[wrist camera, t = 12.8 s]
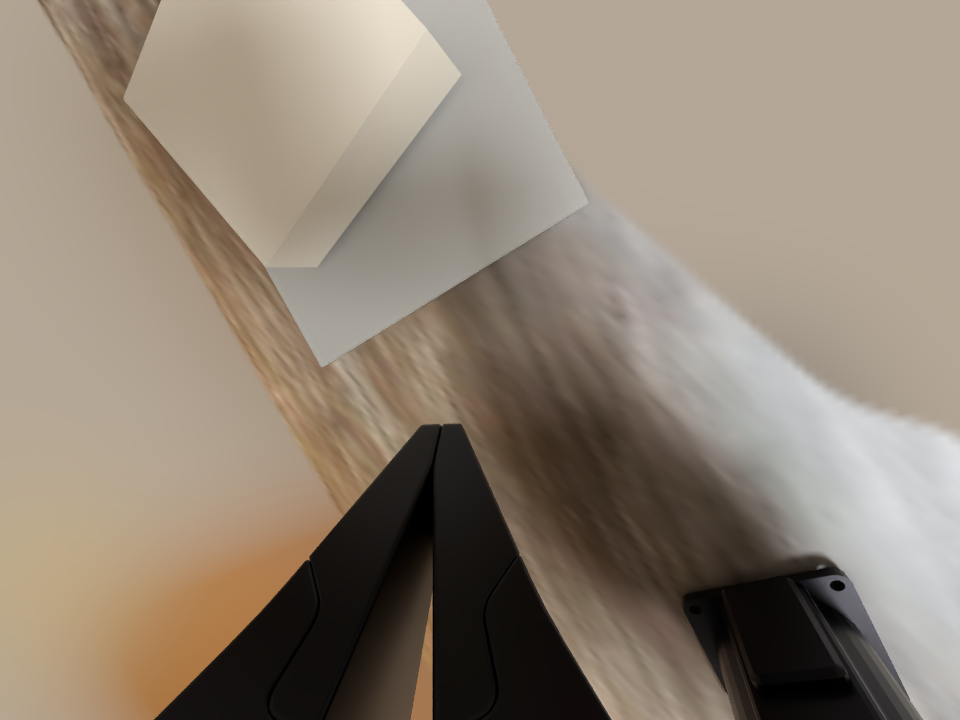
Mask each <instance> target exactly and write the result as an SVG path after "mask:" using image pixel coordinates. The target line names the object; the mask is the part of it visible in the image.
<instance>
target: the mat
mask: <svg viewBox="0 0 960 720" xmlns="http://www.w3.org/2000/svg"><path fill="white" fill-rule="evenodd" d="M402 2H403V3H404V4H405V5H406V6H407V7H408V8H409V9H410V10H411V12H412V13H413V14H414V15H415V16H416V17H417V18H418V19H419V21H420V22H421V23H422V24H423V25H424V26H425V27H426V28H427V30H428V31H429V32H430V34H431V35H432V36H433V37H434V39H435V40H436V41H437V43H438V44H439V45H440V47H441V48H442V49H443V51H444V52H445V53H446V55H447V56H448V57H449V58H450V60H451V61H452V62H453V64H454V65H455V66H456V68H457V69H458V70H459V72H460V73H461V74H462V75H461V76H460V78H459V79H458V80H457V82H456V83H455V84H454V86H453V87H452V88H451V90H450V91H449V92H448V94H447V95H446V96H445V98H444V99H443V100H442V102H441V103H440V104H439V106H438V107H437V108H436V110H435V111H434V112H433V114H432V115H431V116H430V118H429V119H428V120H427V122H426V123H425V124H424V126H423V127H422V128H421V130H420V131H419V132H418V133H417V135H416V136H415V137H414V139H413V140H412V141H411V143H410V144H409V145H408V147H407V148H406V149H405V151H404V152H403V153H402V155H401V156H400V157H399V159H398V160H397V161H396V163H395V164H394V165H393V167H392V168H391V169H390V171H389V172H388V173H387V175H386V176H385V177H384V179H383V180H382V181H381V183H380V184H379V185H378V187H377V188H376V189H375V191H374V192H373V193H372V195H371V196H370V197H369V199H368V200H367V201H366V203H365V204H364V205H363V207H362V208H361V209H360V211H359V212H358V213H357V215H356V216H355V217H354V219H353V220H352V221H351V223H350V224H349V225H348V227H347V228H346V229H345V231H344V232H343V233H342V235H341V236H340V237H339V239H338V240H337V241H336V243H335V244H334V245H333V247H332V248H331V249H330V251H329V252H328V253H327V255H326V256H325V257H324V259H323V260H322V261H321V263H320V264H319V265H318V267H265V266H264V267H265V269H266V270H267V272H268V274H269V276H270V277H271V279H272V281H273V283H274V285H275V286H276V288H277V290H278V292H279V293H280V295H281V297H282V299H283V300H284V302H285V304H286V306H287V308H288V309H289V311H290V313H291V315H292V316H293V318H294V320H295V322H296V323H297V325H298V327H299V329H300V331H301V332H302V334H303V336H304V338H305V339H306V341H307V343H308V345H309V346H310V348H311V350H312V352H313V354H314V355H315V357H316V359H317V361H318V362H319V364H320V366H321V368H322V367H324V366H326V365H328V364H330V363H331V362H333V361H334V360H336V359H338V358H339V357H341V356H343V355H344V354H346V353H347V352H349V351H351V350H352V349H354V348H356V347H357V346H359V345H360V344H362V343H364V342H365V341H367V340H369V339H370V338H372V337H373V336H375V335H377V334H378V333H380V332H381V331H383V330H385V329H386V328H388V327H390V326H391V325H393V324H394V323H396V322H398V321H399V320H401V319H403V318H404V317H406V316H407V315H409V314H411V313H412V312H414V311H416V310H417V309H419V308H420V307H422V306H424V305H425V304H427V303H428V302H430V301H432V300H433V299H435V298H437V297H438V296H440V295H441V294H443V293H445V292H446V291H448V290H450V289H451V288H453V287H454V286H456V285H458V284H459V283H461V282H463V281H464V280H466V279H467V278H469V277H471V276H472V275H474V274H475V273H477V272H479V271H480V270H482V269H484V268H485V267H487V266H488V265H490V264H492V263H493V262H495V261H497V260H498V259H500V258H501V257H503V256H505V255H506V254H508V253H510V252H511V251H513V250H514V249H516V248H518V247H519V246H521V245H523V244H524V243H526V242H527V241H529V240H531V239H532V238H534V237H535V236H537V235H539V234H540V233H542V232H544V231H545V230H547V229H548V228H550V227H552V226H553V225H555V224H557V223H558V222H560V221H561V220H563V219H565V218H566V217H568V216H570V215H571V214H573V213H574V212H576V211H578V210H579V209H581V208H582V207H584V206H586V205H587V204H589V201H588V199H587V197H586V195H585V194H584V192H583V190H582V188H581V186H580V184H579V182H578V180H577V178H576V176H575V174H574V172H573V170H572V168H571V166H570V164H569V162H568V160H567V158H566V156H565V154H564V152H563V150H562V148H561V146H560V144H559V142H558V140H557V138H556V137H555V135H554V133H553V131H552V129H551V127H550V125H549V123H548V121H547V119H546V117H545V115H544V113H543V111H542V109H541V107H540V105H539V103H538V101H537V99H536V97H535V95H534V93H533V91H532V89H531V87H530V85H529V83H528V82H527V79H526V77H525V75H524V74H523V72H522V70H521V68H520V66H519V64H518V62H517V60H516V58H515V56H514V54H513V52H512V50H511V48H510V46H509V44H508V42H507V40H506V38H505V36H504V34H503V33H502V31H501V28H500V26H499V24H498V22H497V20H496V19H495V16H494V14H493V12H492V11H491V9H490V7H489V5H488V3H487V1H486V0H402Z"/></svg>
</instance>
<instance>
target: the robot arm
mask: <svg viewBox="0 0 960 720" xmlns="http://www.w3.org/2000/svg"><path fill="white" fill-rule="evenodd" d="M309 558H310V561H309V560H306V561H305V562H304V563H303V564H302V565H301V567H300V568H299V569H298V570H297V571H296V573H295V574H294V575H293V576H292V577H291V578H290V580H289V581H288V582H287V583H286V584H285V585H284V586H283V587H282V588H281V590H280V591H279V592H278V593H277V594H276V595H275V596H274V597H273V599H272V600H271V601H270V602H269V603H268V604H267V605H266V606H265V608H264V609H263V610H262V611H261V612H260V613H259V614H258V615H257V616H256V617H255V618H254V619H253V620H252V621H251V622H250V623H249V625H247V626H246V628H245V629H244V630H243V631H242V632H241V633H240V634H239V635H238V636H237V637H236V638H235V639H234V640H233V641H232V642H231V643H230V644H229V645H228V646H227V647H226V648H225V649H224V650H223V651H222V652H221V653H220V654H219V655H218V656H217V657H216V658H215V659H214V660H213V661H212V662H211V663H210V664H209V665H208V666H207V667H206V668H205V669H204V670H203V671H202V672H201V673H200V674H199V675H198V676H197V677H196V678H195V679H194V680H193V681H192V682H191V683H190V684H189V685H188V686H187V687H186V688H185V689H184V690H183V691H182V692H181V693H180V694H179V695H178V696H177V697H176V698H175V699H174V700H173V701H172V702H171V703H170V704H169V705H168V706H167V707H166V708H165V709H164V710H163V711H162V712H161V713H160V714H159V715H158V716H157V717H156V718H155V719H154V720H410V719H411V713H412V707H413V701H414V695H415V689H416V683H417V677H418V672H419V666H420V660H421V654H422V648H423V643H424V637H425V631H426V625H427V619H428V613H429V608H430V602H431V596H432V590H433V720H611V718H610V716H609V715H608V713H607V711H606V710H605V708H604V706H603V705H602V703H601V701H600V700H599V698H598V697H597V695H596V693H595V692H594V690H593V688H592V687H591V685H590V683H589V682H588V680H587V678H586V677H585V675H584V673H583V672H582V670H581V668H580V667H579V665H578V663H577V662H576V660H575V658H574V657H573V655H572V653H571V652H570V650H569V648H568V647H567V645H566V643H565V642H564V640H563V638H562V636H561V634H560V633H559V631H558V629H557V627H556V626H555V624H554V622H553V620H552V618H551V617H550V615H549V613H548V611H547V610H546V608H545V606H544V604H543V602H542V599H541V597H540V595H539V593H538V591H537V589H536V587H535V585H534V583H533V581H532V579H531V577H530V575H529V573H528V570H527V568H526V566H525V564H524V561H523V559H522V557H521V556H519V551H518V549H517V546H516V544H515V542H514V540H513V537H512V535H511V533H510V531H509V528H508V526H507V524H506V522H505V520H504V517H503V515H502V513H501V511H500V508H499V506H498V504H497V502H496V499H495V497H494V495H493V493H492V490H491V488H490V486H489V484H488V482H487V479H486V477H485V475H484V473H483V470H482V468H481V466H480V464H479V461H478V459H477V457H476V455H475V453H474V450H473V448H472V446H471V444H470V441H469V439H468V437H467V435H466V432H465V430H464V428H463V426H462V425H461V424H444V425H443V426H442V427H441V425H439V424H427V425H422V426H420V427H419V429H418V430H417V431H416V432H415V433H414V434H413V436H412V437H411V438H410V439H409V440H408V441H407V443H406V444H405V445H404V446H403V447H402V449H401V450H400V451H399V452H398V453H397V454H396V456H395V457H394V458H393V459H392V460H391V461H390V463H389V464H388V465H387V466H386V467H385V468H384V470H383V471H382V472H381V473H380V474H379V475H378V477H377V478H376V479H375V480H374V481H373V482H372V484H371V485H370V486H369V487H368V488H367V490H366V491H365V492H364V493H363V494H362V495H361V497H360V498H359V499H358V500H357V501H356V502H355V504H354V505H353V506H352V507H351V508H350V509H349V511H348V512H347V513H346V514H345V515H344V516H343V518H342V519H341V520H340V521H339V522H338V524H337V525H336V526H335V527H334V528H333V529H332V531H331V532H330V533H329V534H328V535H327V536H326V538H325V539H324V540H323V541H322V542H321V543H320V545H319V546H318V547H317V548H316V549H315V550H314V552H313V553H312V554H311V555H310V557H309ZM834 580H839V582H838V583H835V584H830V583H831V582H832V581H834ZM682 605H683V609H684V612H685V614H686V616H687V618H688V620H689V622H690V624H691V626H692V627H693V629H694V631H695V633H696V635H697V637H698V639H699V641H700V643H701V645H702V646H703V648H704V650H705V652H706V654H707V656H708V658H709V660H710V662H711V663H712V665H713V667H714V669H715V671H716V673H717V675H718V677H719V679H720V681H721V682H722V684H723V686H724V688H725V690H726V692H727V694H728V696H729V700H730V704H731V707H732V711H733V714H734V718H735V720H923V719H922V717H921V716H920V714H919V713H918V712H917V710H916V709H915V707H914V706H913V704H912V703H911V702H910V698H909V696H908V694H907V692H906V690H905V688H904V686H903V684H902V682H901V680H900V678H899V676H898V674H897V672H896V670H895V668H894V666H893V664H892V662H891V660H890V658H889V656H888V654H887V652H886V650H885V648H884V646H883V644H882V642H881V640H880V638H879V636H878V634H877V632H876V630H875V628H874V626H873V624H872V622H871V620H870V618H869V616H868V614H867V612H866V610H865V608H864V606H863V604H862V602H861V600H860V598H859V596H858V594H857V592H856V590H855V588H854V586H853V584H852V582H851V581H850V580H849V578H848V577H847V576H846V574H845V573H844V572H843V571H841V570H839V569H836V568H824V569H819V570H814V571H808V572H803V573H797V574H792V575H787V576H781V577H776V578H770V579H765V580H760V581H754V582H749V583H743V584H738V585H733V586H727V587H722V588H716V589H711V590H706V591H700V592H695V593H689V594H687V595H685V596H684V597H683V598H682ZM692 605H697V606H698V607H691V606H692Z"/></svg>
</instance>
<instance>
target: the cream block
mask: <svg viewBox="0 0 960 720" xmlns="http://www.w3.org/2000/svg"><path fill="white" fill-rule="evenodd" d="M461 75H462V74H461V73H460V72H459V70H458V69H457V68H456V66H455V65H454V64H453V62H452V61H451V60H450V58H449V57H448V56H447V55H446V53H445V52H444V51H443V49H442V48H441V47H440V45H439V44H438V43H437V41H436V40H435V39H434V37H433V36H432V35H431V34H430V32H429V31H428V30H427V28H426V27H425V26H424V25H423V24H422V23H421V22H420V21H419V19H418V18H417V17H416V16H415V15H414V14H413V13H412V12H411V10H410V9H409V8H408V7H407V6H406V5H405V4H404V3H403V2H402V0H161V2H160V4H159V7H158V10H157V12H156V15H155V17H154V20H153V22H152V25H151V28H150V30H149V33H148V35H147V38H146V41H145V43H144V46H143V48H142V51H141V53H140V56H139V59H138V61H137V64H136V66H135V69H134V72H133V74H132V77H131V79H130V82H129V84H128V87H127V90H126V92H125V95H124V97H123V100H124V101H125V102H126V103H127V104H128V106H129V107H130V108H131V109H132V110H133V111H134V113H135V114H136V115H137V116H138V117H139V119H140V120H141V121H142V122H143V123H144V124H145V126H146V127H147V128H148V129H149V130H150V131H151V133H152V134H153V135H154V136H155V137H156V139H157V140H158V141H159V142H160V143H161V144H162V146H163V147H164V148H165V149H166V150H167V152H168V153H169V154H170V155H171V156H172V157H173V159H174V160H175V161H176V162H177V163H178V165H179V166H180V167H181V168H182V169H183V170H184V172H185V173H186V174H187V175H188V176H189V178H190V179H191V180H192V181H193V182H194V183H195V185H196V186H197V187H198V188H199V189H200V191H201V192H202V193H203V194H204V195H205V196H206V198H207V199H208V200H209V201H210V202H211V204H212V205H213V206H214V207H215V208H216V209H217V211H218V212H219V213H220V214H221V215H222V217H223V218H224V219H225V220H226V221H227V222H228V224H229V225H230V226H231V227H232V228H233V230H234V231H235V232H236V233H237V234H238V235H239V237H240V238H241V239H242V240H243V241H244V243H245V244H246V245H247V246H248V247H249V248H250V250H251V251H252V252H253V253H254V254H255V256H256V257H257V258H258V259H259V260H260V261H261V263H262V264H263V265H264V266H265V267H318V265H319V264H320V263H321V261H322V260H323V259H324V257H325V256H326V255H327V253H328V252H329V251H330V249H331V248H332V247H333V245H334V244H335V243H336V241H337V240H338V239H339V237H340V236H341V235H342V233H343V232H344V231H345V229H346V228H347V227H348V225H349V224H350V223H351V221H352V220H353V219H354V217H355V216H356V215H357V213H358V212H359V211H360V209H361V208H362V207H363V205H364V204H365V203H366V201H367V200H368V199H369V197H370V196H371V195H372V193H373V192H374V191H375V189H376V188H377V187H378V185H379V184H380V183H381V181H382V180H383V179H384V177H385V176H386V175H387V173H388V172H389V171H390V169H391V168H392V167H393V165H394V164H395V163H396V161H397V160H398V159H399V157H400V156H401V155H402V153H403V152H404V151H405V149H406V148H407V147H408V145H409V144H410V143H411V141H412V140H413V139H414V137H415V136H416V135H417V133H418V132H419V131H420V130H421V128H422V127H423V126H424V124H425V123H426V122H427V120H428V119H429V118H430V116H431V115H432V114H433V112H434V111H435V110H436V108H437V107H438V106H439V104H440V103H441V102H442V100H443V99H444V98H445V96H446V95H447V94H448V92H449V91H450V90H451V88H452V87H453V86H454V84H455V83H456V82H457V80H458V79H459V78H460V76H461Z"/></svg>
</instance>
